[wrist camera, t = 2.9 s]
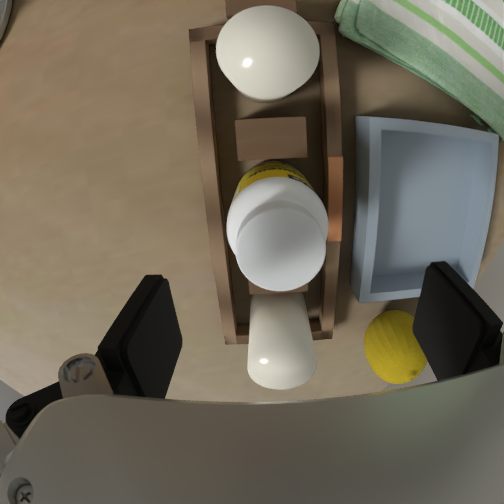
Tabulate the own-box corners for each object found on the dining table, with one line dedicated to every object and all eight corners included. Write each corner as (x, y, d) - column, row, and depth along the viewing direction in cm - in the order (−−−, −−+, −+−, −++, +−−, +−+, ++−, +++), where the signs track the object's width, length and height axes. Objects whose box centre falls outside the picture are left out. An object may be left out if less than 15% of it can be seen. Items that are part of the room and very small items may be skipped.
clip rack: (193, 23, 16) (179, 6, 13) (327, 16, 16) (340, -2, 12) (228, 340, 28) (224, 371, 24) (328, 335, 27) (335, 365, 24)
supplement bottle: (318, 170, 21) (360, 212, 12) (298, 237, 23) (319, 315, 14) (244, 151, 21) (233, 179, 12) (228, 221, 23) (209, 293, 14)
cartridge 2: (249, 278, 25) (244, 345, 18) (304, 275, 25) (319, 340, 18) (252, 321, 27) (250, 390, 20) (303, 318, 27) (314, 387, 19)
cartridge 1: (229, 46, 17) (213, 9, 10) (295, 42, 17) (314, 5, 10) (234, 105, 19) (219, 99, 12) (299, 102, 19) (322, 94, 12)
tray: (355, 115, 19) (369, 116, 16) (477, 129, 19) (498, 134, 16) (349, 283, 25) (358, 303, 22) (457, 273, 24) (473, 289, 22)
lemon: (351, 342, 28) (371, 405, 21) (359, 295, 26) (388, 359, 18) (401, 336, 28) (429, 394, 20) (413, 291, 25) (451, 347, 18)
